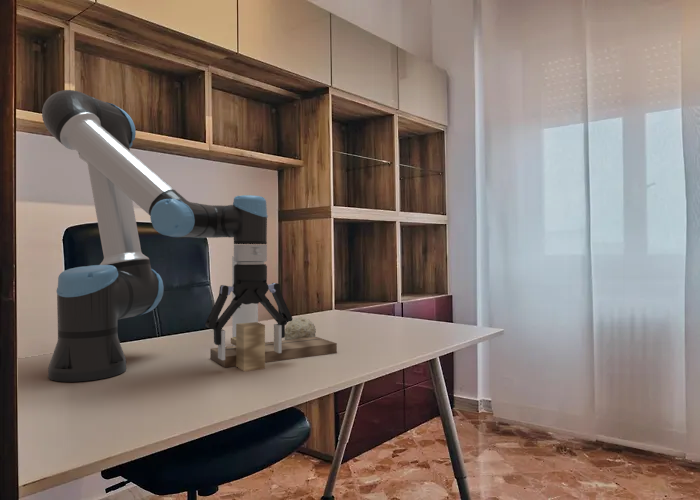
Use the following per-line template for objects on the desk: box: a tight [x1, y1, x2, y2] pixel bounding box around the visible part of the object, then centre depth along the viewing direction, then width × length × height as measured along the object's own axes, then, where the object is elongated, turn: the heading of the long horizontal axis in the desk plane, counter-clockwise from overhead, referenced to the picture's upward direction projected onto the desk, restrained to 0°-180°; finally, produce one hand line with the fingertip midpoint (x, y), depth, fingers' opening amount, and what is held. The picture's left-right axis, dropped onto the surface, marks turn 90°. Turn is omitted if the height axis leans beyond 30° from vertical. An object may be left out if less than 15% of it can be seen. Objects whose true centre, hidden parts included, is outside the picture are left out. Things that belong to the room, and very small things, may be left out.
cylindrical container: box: [231, 255, 259, 346], centre depth 143 cm, size 7×7×25 cm
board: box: [210, 336, 338, 369], centre depth 128 cm, size 30×11×3 cm, turn 123°
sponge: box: [283, 316, 317, 340], centre depth 145 cm, size 9×10×10 cm
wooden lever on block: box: [230, 321, 266, 372], centre depth 120 cm, size 5×14×10 cm, turn 33°
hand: (250, 355), depth 116 cm, fingers open, 13 cm apart
